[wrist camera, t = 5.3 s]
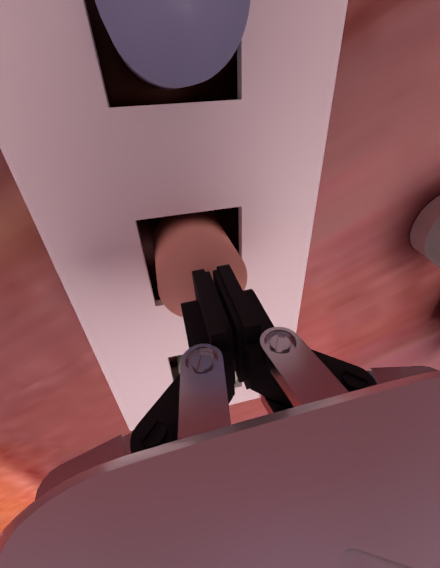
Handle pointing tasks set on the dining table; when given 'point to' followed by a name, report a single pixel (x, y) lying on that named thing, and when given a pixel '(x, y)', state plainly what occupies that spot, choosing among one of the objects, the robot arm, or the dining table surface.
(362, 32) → the dining table surface
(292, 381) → the robot arm
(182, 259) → the orange rounded piece
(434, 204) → the coffee cup
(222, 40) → the slate button
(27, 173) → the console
